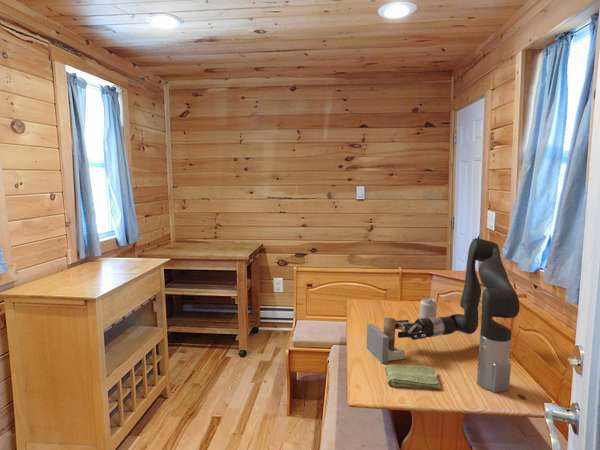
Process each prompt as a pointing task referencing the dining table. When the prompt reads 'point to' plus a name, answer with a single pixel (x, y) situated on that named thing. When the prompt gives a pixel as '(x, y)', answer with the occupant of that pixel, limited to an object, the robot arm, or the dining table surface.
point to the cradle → (396, 355)
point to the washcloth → (412, 376)
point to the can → (428, 308)
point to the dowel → (390, 331)
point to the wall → (377, 343)
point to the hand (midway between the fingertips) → (392, 330)
